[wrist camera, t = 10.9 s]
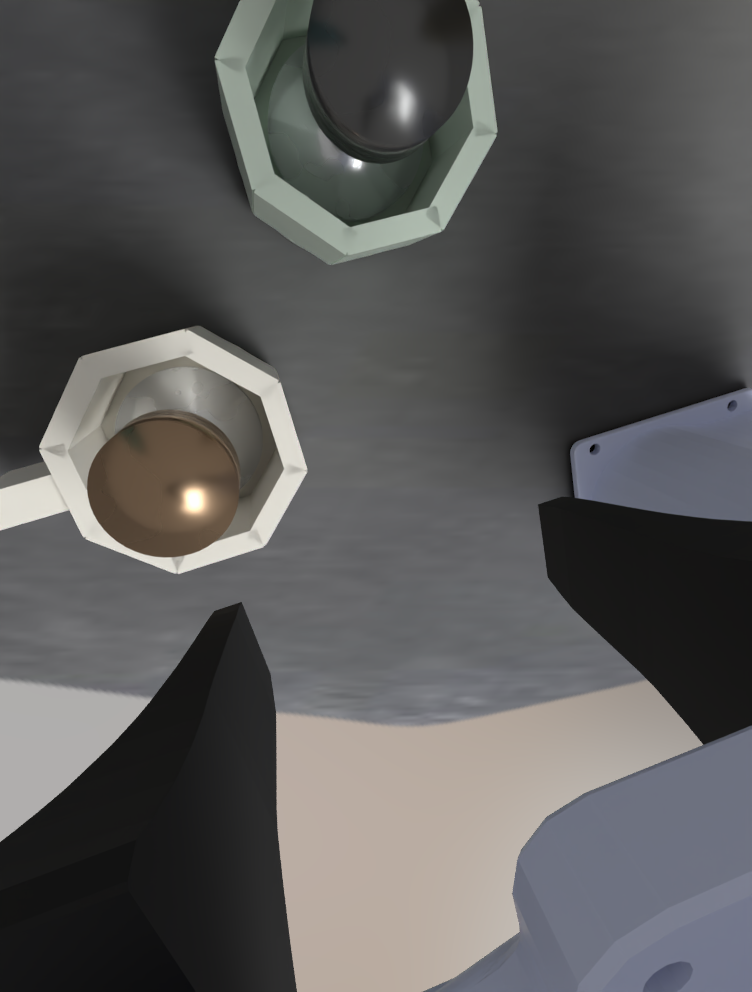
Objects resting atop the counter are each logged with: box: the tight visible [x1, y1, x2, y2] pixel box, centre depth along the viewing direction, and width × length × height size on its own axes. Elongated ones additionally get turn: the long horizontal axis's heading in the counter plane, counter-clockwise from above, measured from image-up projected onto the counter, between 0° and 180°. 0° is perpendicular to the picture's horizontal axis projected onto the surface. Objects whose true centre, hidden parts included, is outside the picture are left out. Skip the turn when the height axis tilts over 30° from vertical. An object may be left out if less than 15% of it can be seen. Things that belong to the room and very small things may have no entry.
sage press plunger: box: [267, 0, 473, 222], centre depth 14 cm, size 5×5×6 cm
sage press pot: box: [215, 0, 497, 265], centre depth 16 cm, size 10×7×4 cm
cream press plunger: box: [87, 366, 263, 558], centre depth 16 cm, size 5×5×6 cm
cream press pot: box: [0, 326, 307, 574], centre depth 18 cm, size 10×7×4 cm
